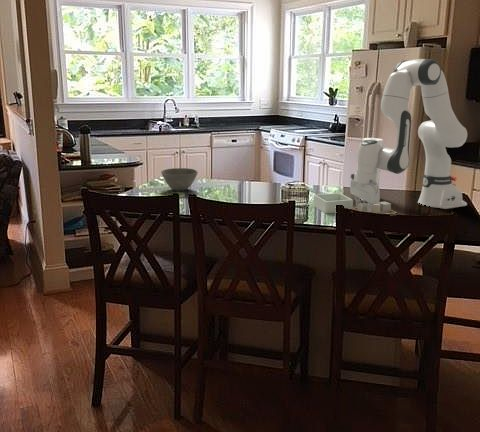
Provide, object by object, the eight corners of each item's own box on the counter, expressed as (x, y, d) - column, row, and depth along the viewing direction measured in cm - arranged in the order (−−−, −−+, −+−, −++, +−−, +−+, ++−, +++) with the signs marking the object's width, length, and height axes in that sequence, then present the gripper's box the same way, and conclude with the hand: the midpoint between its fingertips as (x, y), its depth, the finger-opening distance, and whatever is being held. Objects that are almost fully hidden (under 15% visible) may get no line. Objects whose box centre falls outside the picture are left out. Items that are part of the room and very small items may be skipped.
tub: (339, 205, 243) (339, 193, 242) (352, 213, 231) (353, 199, 229) (313, 207, 240) (313, 194, 238) (325, 214, 228) (325, 201, 226)
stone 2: (375, 210, 232) (376, 202, 231) (379, 213, 228) (380, 204, 227) (367, 211, 231) (368, 202, 230) (371, 213, 227) (372, 205, 226)
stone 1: (365, 211, 231) (365, 202, 230) (369, 213, 227) (370, 205, 226) (357, 212, 229) (357, 203, 228) (361, 214, 226) (362, 205, 225)
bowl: (196, 194, 261) (196, 175, 258) (159, 194, 261) (158, 174, 259) (199, 186, 279) (199, 167, 276) (164, 185, 279) (164, 167, 277)
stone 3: (384, 210, 233) (385, 201, 232) (390, 212, 230) (391, 203, 229) (377, 210, 232) (378, 202, 231) (382, 213, 228) (383, 204, 227)
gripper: (385, 182, 215) (381, 214, 219) (361, 173, 234) (358, 202, 238) (371, 183, 213) (368, 215, 217) (348, 173, 232) (346, 203, 236)
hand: (363, 208), depth 228 cm, fingers open, 8 cm apart
